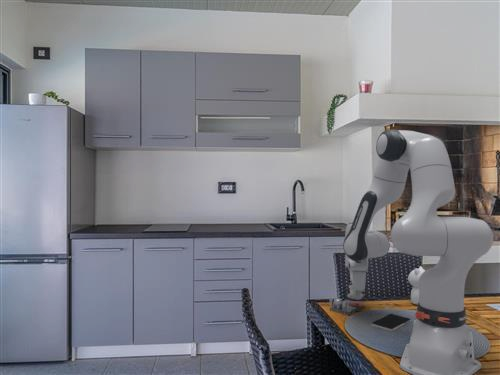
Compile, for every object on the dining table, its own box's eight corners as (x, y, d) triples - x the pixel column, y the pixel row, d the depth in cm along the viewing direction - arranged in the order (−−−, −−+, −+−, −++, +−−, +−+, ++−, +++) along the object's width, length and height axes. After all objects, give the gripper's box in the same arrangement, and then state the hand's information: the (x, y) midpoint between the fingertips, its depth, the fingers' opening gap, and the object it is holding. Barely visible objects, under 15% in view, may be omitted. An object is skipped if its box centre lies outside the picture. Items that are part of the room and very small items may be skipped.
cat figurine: (412, 299, 154) (411, 264, 154) (445, 305, 146) (444, 267, 146) (405, 304, 147) (404, 267, 148) (438, 311, 139) (437, 271, 139)
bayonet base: (351, 315, 135) (351, 304, 135) (326, 309, 142) (326, 299, 142) (367, 306, 145) (367, 296, 145) (343, 301, 152) (343, 291, 152)
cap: (350, 300, 142) (350, 288, 142) (345, 296, 147) (345, 284, 147) (365, 299, 143) (365, 288, 143) (360, 295, 148) (360, 284, 148)
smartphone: (412, 318, 129) (393, 329, 119) (412, 322, 129) (393, 333, 119) (390, 313, 135) (370, 322, 125) (390, 316, 135) (370, 326, 125)
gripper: (346, 257, 156) (346, 289, 156) (350, 267, 136) (351, 304, 136) (361, 257, 155) (362, 289, 155) (368, 267, 135) (368, 305, 135)
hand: (356, 296), depth 145 cm, fingers closed on cap, 4 cm apart
